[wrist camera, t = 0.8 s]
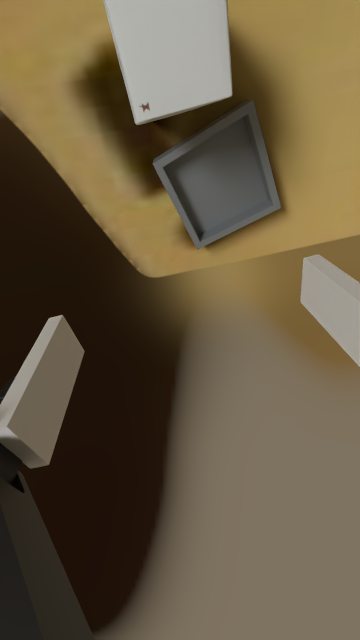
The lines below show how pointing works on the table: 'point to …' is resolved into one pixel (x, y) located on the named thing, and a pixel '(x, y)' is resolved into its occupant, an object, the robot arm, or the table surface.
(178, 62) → the supplement box
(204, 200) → the charcoal tray
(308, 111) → the table surface
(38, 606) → the robot arm
